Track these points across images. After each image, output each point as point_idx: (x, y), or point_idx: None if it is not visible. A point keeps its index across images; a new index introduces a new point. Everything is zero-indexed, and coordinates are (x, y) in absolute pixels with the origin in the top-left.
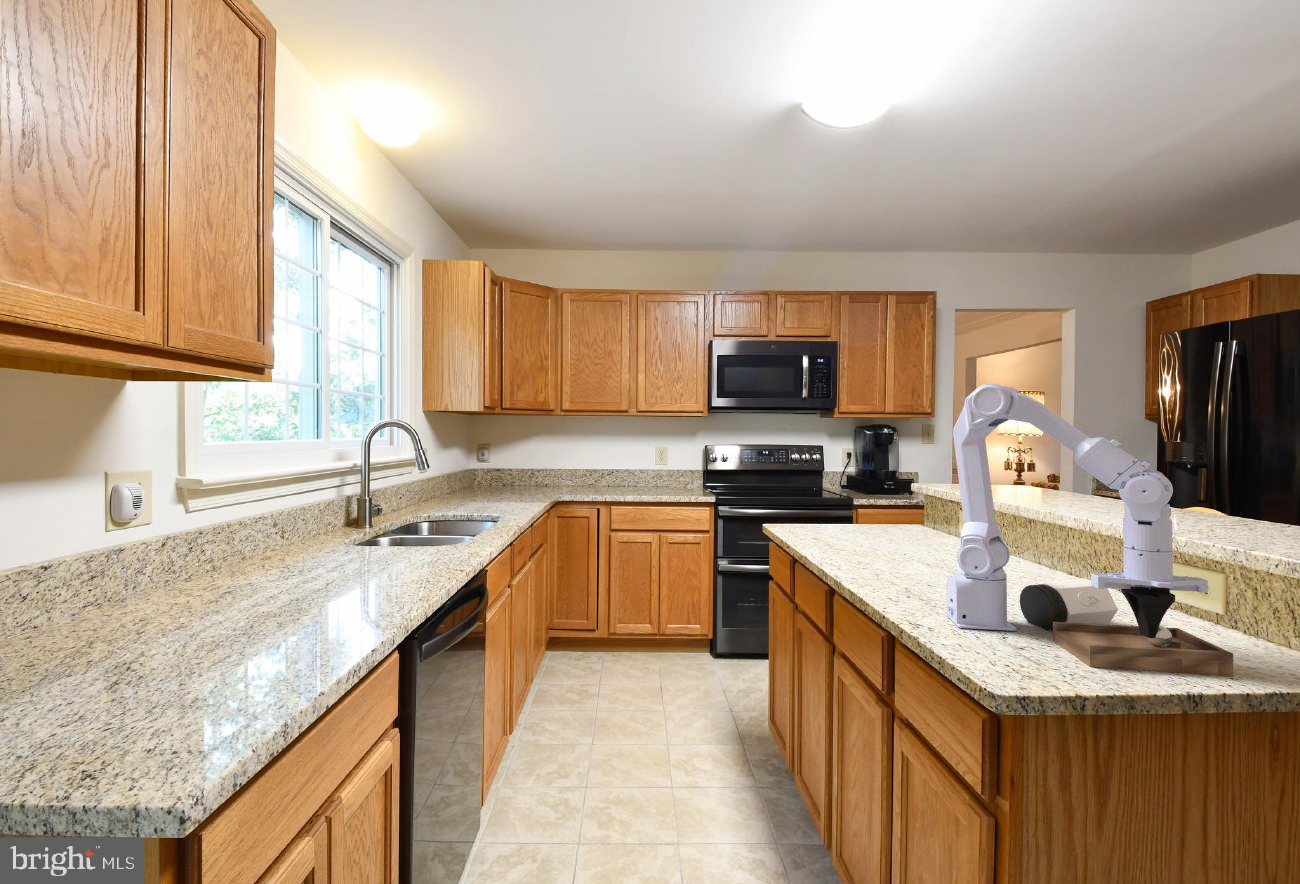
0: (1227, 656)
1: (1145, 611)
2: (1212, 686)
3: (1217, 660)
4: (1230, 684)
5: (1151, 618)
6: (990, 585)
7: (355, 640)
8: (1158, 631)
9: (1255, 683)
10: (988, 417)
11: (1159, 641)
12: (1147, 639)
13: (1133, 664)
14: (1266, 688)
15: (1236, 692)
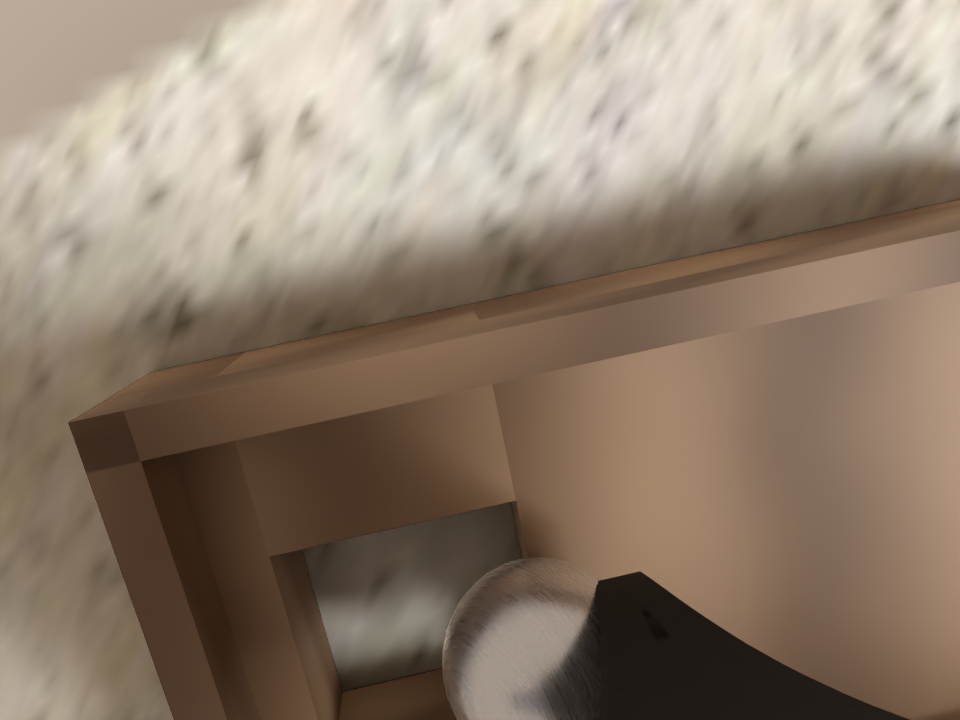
0: (128, 403)
1: (857, 703)
2: (376, 80)
3: (218, 379)
4: (236, 178)
5: (724, 669)
6: None
7: None
8: (582, 627)
9: (56, 272)
10: None
11: (559, 563)
12: None
13: (794, 240)
14: (19, 187)
15: (260, 7)
